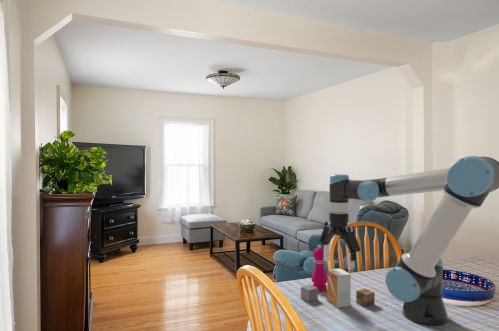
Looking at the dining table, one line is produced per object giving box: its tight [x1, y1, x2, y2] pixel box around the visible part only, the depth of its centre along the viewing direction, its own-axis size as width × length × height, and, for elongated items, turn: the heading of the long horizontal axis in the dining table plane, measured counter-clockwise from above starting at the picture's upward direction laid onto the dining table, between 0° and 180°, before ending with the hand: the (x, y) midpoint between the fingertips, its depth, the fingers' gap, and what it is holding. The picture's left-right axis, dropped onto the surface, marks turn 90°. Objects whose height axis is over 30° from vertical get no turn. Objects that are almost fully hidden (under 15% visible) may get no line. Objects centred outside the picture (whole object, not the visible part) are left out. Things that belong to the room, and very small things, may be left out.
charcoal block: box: [300, 284, 319, 303], centre depth 152 cm, size 5×5×5 cm
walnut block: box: [355, 288, 375, 308], centre depth 147 cm, size 5×5×5 cm
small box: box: [326, 268, 352, 309], centre depth 147 cm, size 8×6×13 cm
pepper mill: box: [311, 244, 327, 292], centre depth 164 cm, size 7×7×20 cm
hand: (338, 264), depth 147 cm, fingers open, 13 cm apart
